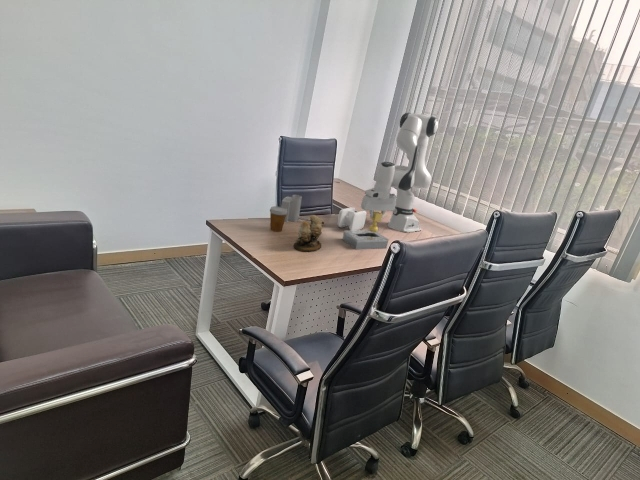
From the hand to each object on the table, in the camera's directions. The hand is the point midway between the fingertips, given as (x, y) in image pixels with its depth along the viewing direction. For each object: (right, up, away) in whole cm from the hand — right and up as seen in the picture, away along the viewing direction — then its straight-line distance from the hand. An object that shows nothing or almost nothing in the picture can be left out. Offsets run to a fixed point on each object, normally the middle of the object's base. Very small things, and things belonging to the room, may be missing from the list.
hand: (375, 217), depth 218 cm
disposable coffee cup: (-54, -7, +2) cm, 54 cm away
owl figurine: (-36, -15, -14) cm, 42 cm away
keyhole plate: (-6, -14, +3) cm, 16 cm away
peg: (-1, -7, +2) cm, 8 cm away
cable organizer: (-12, -5, +25) cm, 29 cm away
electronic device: (-41, -2, +22) cm, 46 cm away
